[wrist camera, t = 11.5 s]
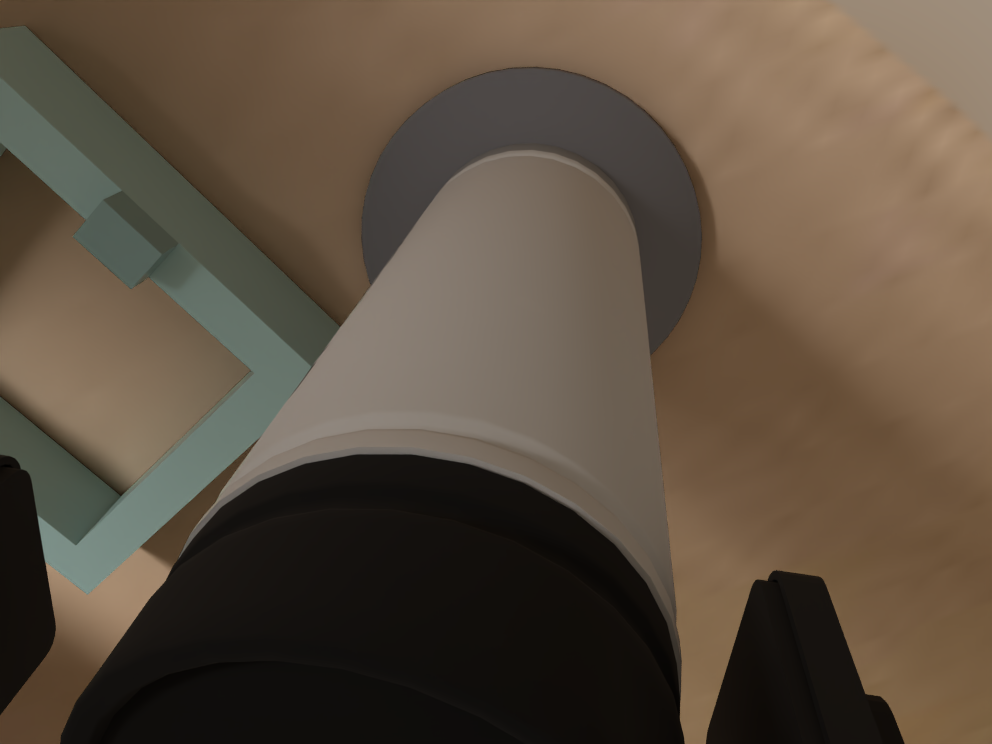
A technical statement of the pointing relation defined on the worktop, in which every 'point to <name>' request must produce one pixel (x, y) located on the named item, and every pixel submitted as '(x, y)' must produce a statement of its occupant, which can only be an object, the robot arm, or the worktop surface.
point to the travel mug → (438, 507)
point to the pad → (556, 122)
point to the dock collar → (133, 258)
